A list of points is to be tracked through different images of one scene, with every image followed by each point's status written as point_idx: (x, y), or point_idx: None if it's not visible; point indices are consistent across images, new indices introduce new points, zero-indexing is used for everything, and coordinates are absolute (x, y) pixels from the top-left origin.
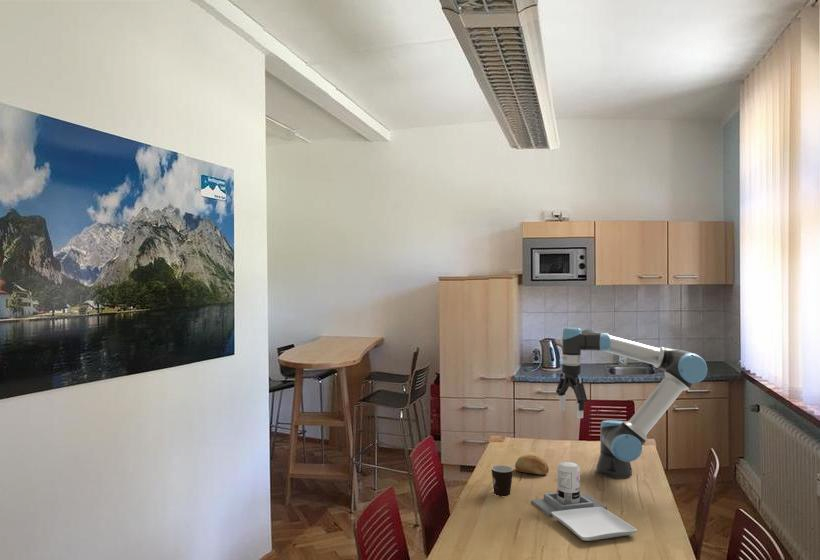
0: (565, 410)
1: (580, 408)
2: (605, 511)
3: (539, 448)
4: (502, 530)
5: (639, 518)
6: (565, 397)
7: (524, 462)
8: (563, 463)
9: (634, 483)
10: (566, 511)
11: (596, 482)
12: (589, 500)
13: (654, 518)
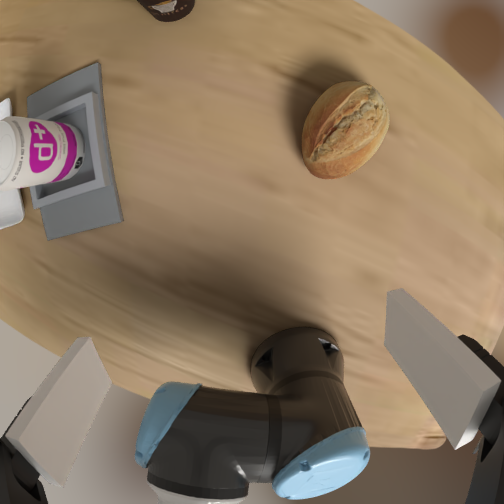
0: (384, 344)
1: (24, 406)
2: (12, 221)
3: (495, 245)
4: (15, 18)
5: (25, 285)
6: (447, 432)
7: (332, 90)
8: (5, 136)
9: (214, 377)
10: None
11: (228, 295)
12: (44, 203)
13: (30, 311)
